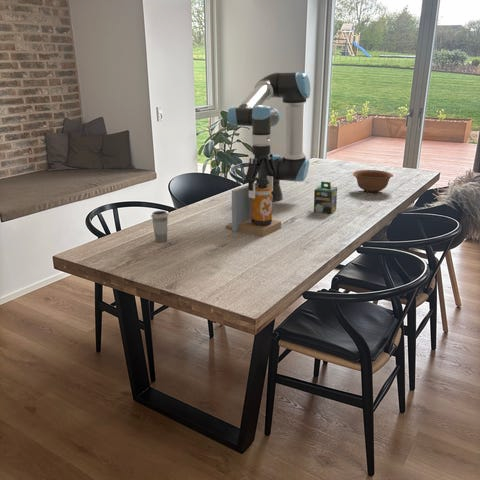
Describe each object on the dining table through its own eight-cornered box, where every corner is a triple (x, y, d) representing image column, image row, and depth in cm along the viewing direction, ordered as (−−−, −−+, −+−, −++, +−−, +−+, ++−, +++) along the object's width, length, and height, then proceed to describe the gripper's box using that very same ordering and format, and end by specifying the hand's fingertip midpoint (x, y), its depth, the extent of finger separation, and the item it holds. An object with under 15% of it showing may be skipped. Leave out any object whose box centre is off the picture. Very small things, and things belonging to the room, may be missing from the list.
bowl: (348, 195, 271) (349, 175, 267) (355, 186, 290) (356, 168, 286) (389, 198, 263) (391, 178, 259) (393, 189, 282) (395, 170, 278)
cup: (161, 244, 197) (160, 216, 193) (149, 241, 200) (147, 213, 196) (173, 239, 202) (171, 211, 198) (160, 236, 206) (159, 209, 202)
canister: (257, 227, 207) (258, 181, 201) (245, 220, 217) (245, 175, 210) (275, 224, 211) (277, 178, 205) (262, 217, 221) (263, 173, 214)
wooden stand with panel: (223, 228, 215) (222, 188, 209) (254, 216, 233) (254, 179, 227) (260, 237, 204) (261, 195, 198) (290, 223, 222) (291, 184, 216)
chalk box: (336, 209, 244) (338, 180, 239) (331, 214, 236) (333, 184, 231) (318, 207, 248) (320, 178, 243) (312, 212, 240) (314, 182, 235)
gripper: (251, 150, 191) (251, 202, 198) (284, 141, 210) (283, 189, 217) (235, 148, 195) (236, 199, 203) (270, 139, 214) (269, 186, 221)
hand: (261, 194), depth 210 cm, fingers open, 13 cm apart
